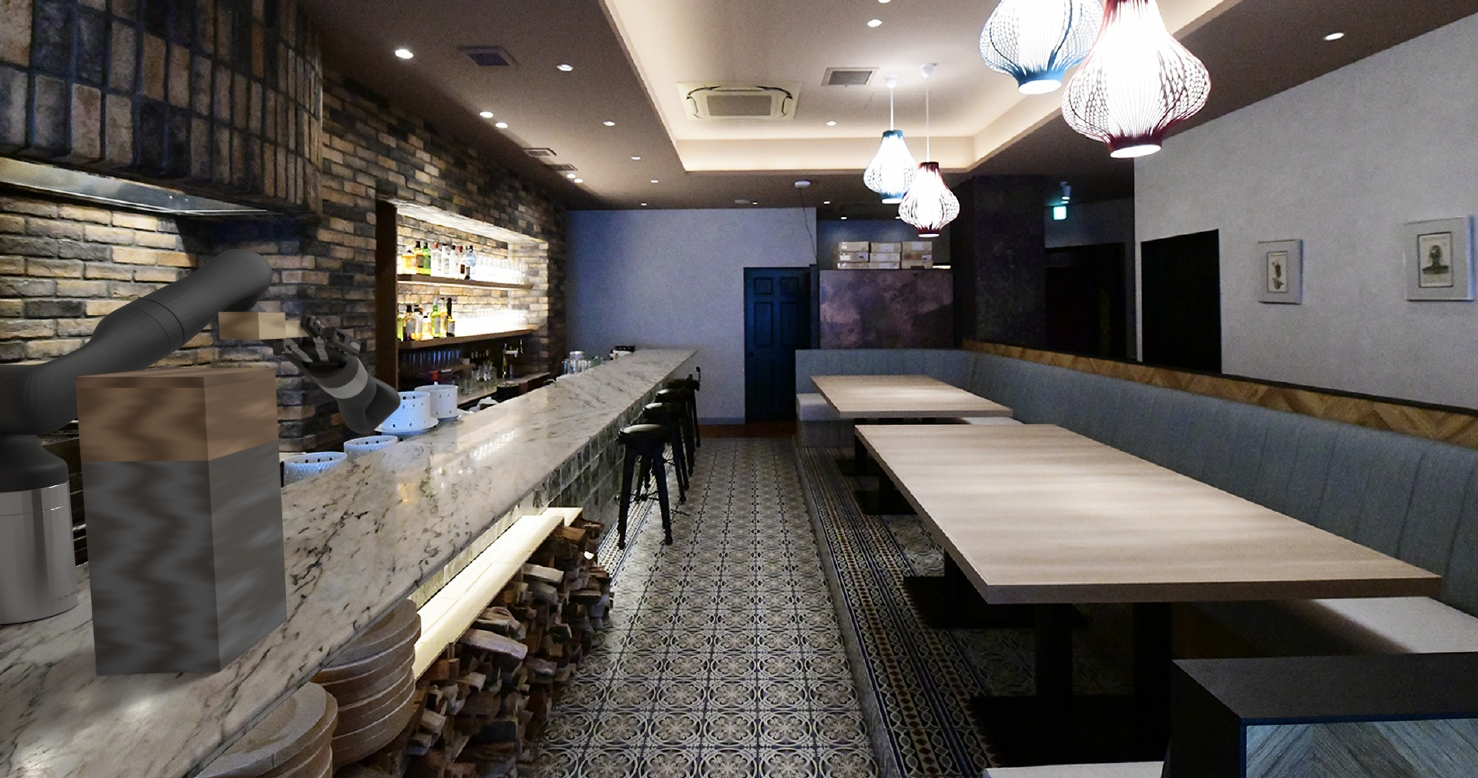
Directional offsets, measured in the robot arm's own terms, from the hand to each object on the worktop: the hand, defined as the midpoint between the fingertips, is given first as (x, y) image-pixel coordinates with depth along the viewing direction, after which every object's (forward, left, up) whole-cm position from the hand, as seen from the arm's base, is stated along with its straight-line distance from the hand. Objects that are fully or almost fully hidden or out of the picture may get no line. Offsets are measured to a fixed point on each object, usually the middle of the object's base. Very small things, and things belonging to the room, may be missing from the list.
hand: (291, 319), depth 114 cm
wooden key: (0, -4, -3) cm, 5 cm away
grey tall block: (0, -26, -39) cm, 47 cm away
